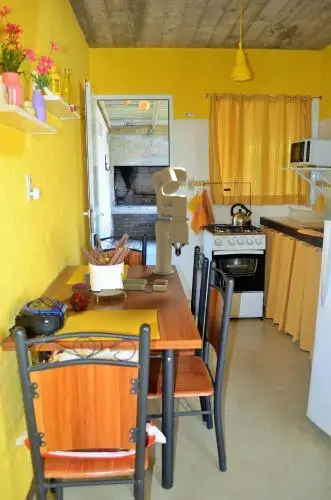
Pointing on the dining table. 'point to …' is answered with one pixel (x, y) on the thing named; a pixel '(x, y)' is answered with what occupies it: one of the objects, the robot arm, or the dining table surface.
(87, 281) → the medicine box
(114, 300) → the dining table surface
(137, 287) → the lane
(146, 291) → the pads
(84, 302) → the dragon fruit
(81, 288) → the cupcake
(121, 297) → the dining table surface
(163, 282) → the walnut block
